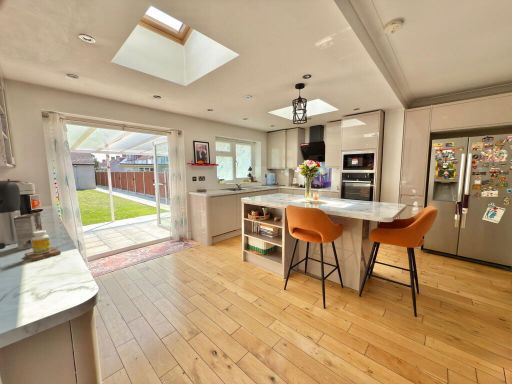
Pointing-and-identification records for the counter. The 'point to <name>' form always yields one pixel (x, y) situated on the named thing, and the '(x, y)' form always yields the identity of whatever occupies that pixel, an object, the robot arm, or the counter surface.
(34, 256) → the walnut trivet
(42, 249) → the supplement bottle
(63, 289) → the counter surface
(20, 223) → the coffee box
